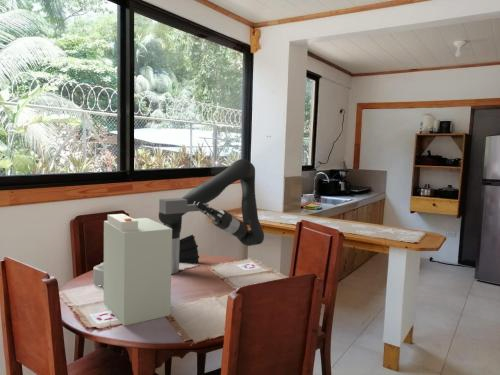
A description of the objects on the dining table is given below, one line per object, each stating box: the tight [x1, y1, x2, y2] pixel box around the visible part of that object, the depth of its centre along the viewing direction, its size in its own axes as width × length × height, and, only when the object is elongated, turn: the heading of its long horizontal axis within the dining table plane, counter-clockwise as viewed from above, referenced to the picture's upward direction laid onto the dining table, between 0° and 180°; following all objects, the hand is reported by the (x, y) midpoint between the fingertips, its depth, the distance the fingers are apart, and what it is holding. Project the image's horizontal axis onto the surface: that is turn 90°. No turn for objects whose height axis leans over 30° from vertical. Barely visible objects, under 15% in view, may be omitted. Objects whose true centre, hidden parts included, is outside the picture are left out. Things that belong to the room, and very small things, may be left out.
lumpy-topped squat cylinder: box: [92, 261, 104, 286], centre depth 174 cm, size 10×13×9 cm
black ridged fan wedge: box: [179, 234, 200, 265], centre depth 209 cm, size 4×13×15 cm, turn 82°
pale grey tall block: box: [103, 213, 172, 327], centre depth 146 cm, size 24×17×36 cm
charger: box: [158, 197, 210, 214], centre depth 156 cm, size 6×20×5 cm, turn 126°
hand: (196, 203), depth 158 cm, fingers closed on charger, 2 cm apart
